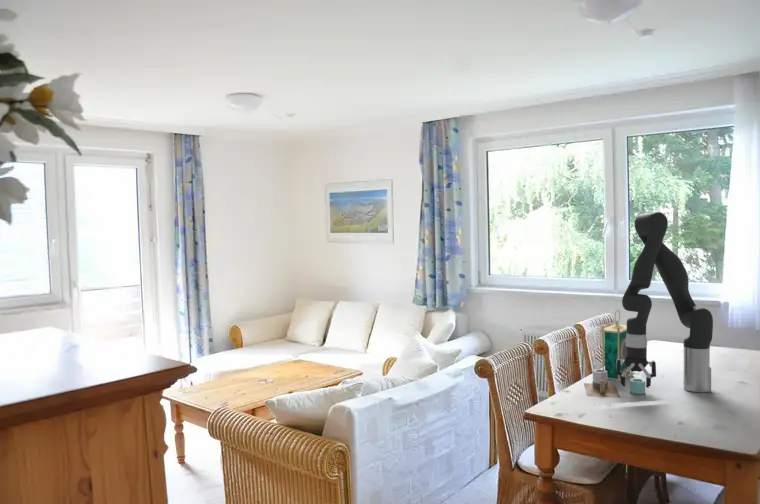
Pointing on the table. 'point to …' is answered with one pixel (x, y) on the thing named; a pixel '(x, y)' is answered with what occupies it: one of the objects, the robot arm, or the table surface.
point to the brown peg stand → (601, 390)
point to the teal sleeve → (637, 386)
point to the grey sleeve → (599, 378)
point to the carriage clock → (614, 349)
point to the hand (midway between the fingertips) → (635, 386)
